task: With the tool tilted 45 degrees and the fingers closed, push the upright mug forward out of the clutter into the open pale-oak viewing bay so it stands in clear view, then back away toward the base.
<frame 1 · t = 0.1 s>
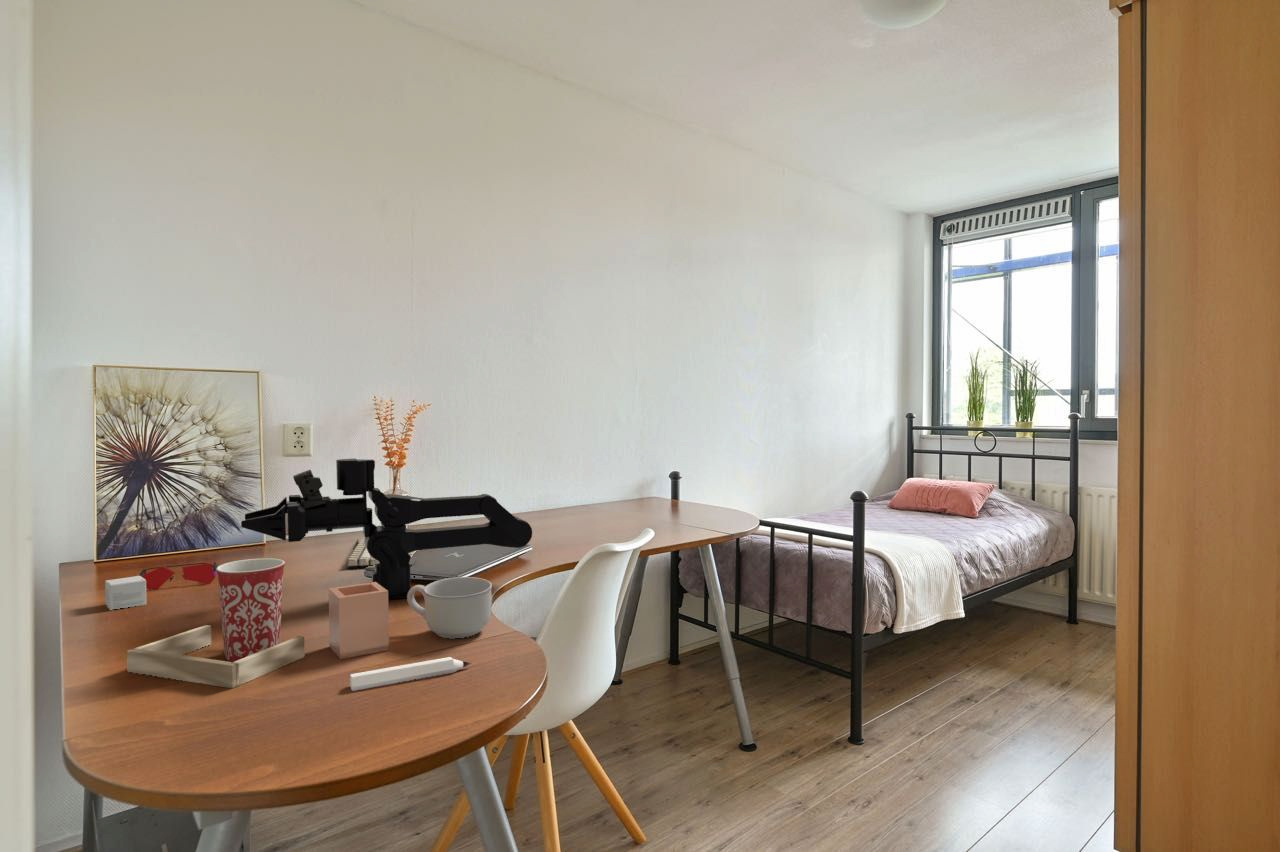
hand: (243, 520, 130), 17 cm above the table, tool horizontal, fingers open, 9 cm apart
teacup: (450, 633, 118), on the table
marker: (414, 681, 99), on the table
bay: (219, 663, 104), on the table
small box: (126, 606, 136), on the table
glasses: (179, 582, 155), on the table
mechanical keyboard: (390, 555, 184), on the table
terracotta pot: (359, 648, 111), on the table, touching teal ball
mug: (254, 651, 110), on the table
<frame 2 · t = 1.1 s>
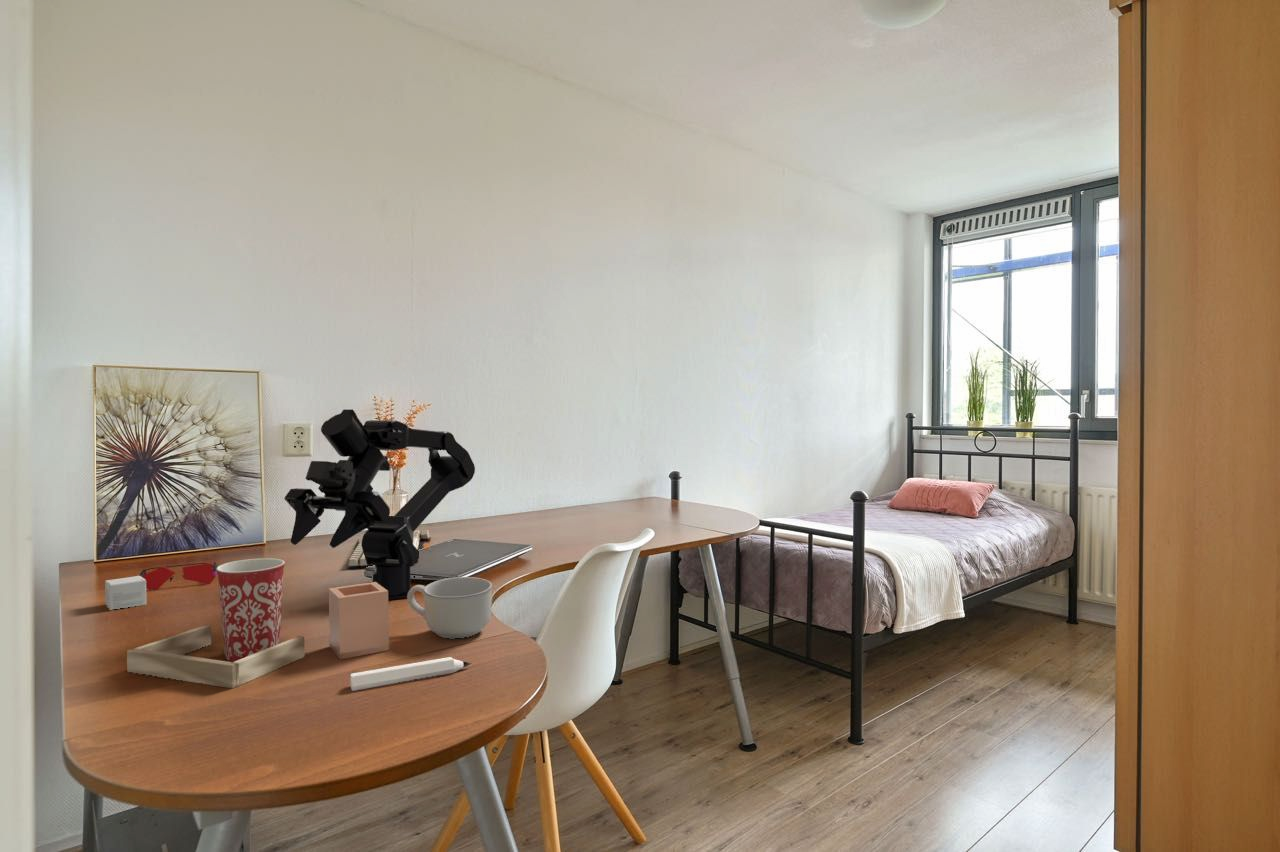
hand: (312, 544, 122), 14 cm above the table, tool tilted 45°, fingers open, 8 cm apart
nothing on the table moved.
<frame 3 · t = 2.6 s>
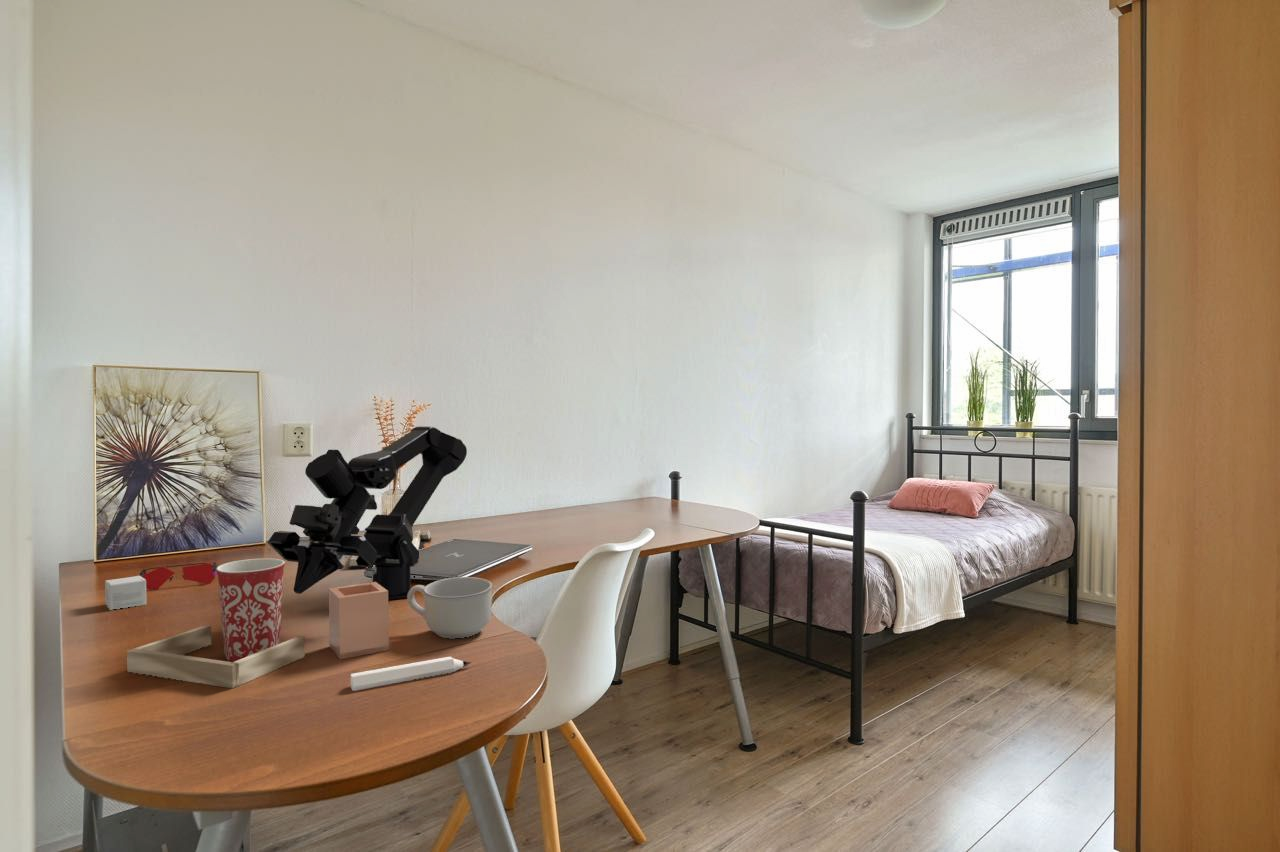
hand: (296, 592, 118), 7 cm above the table, tool tilted 45°, fingers closed
nothing on the table moved.
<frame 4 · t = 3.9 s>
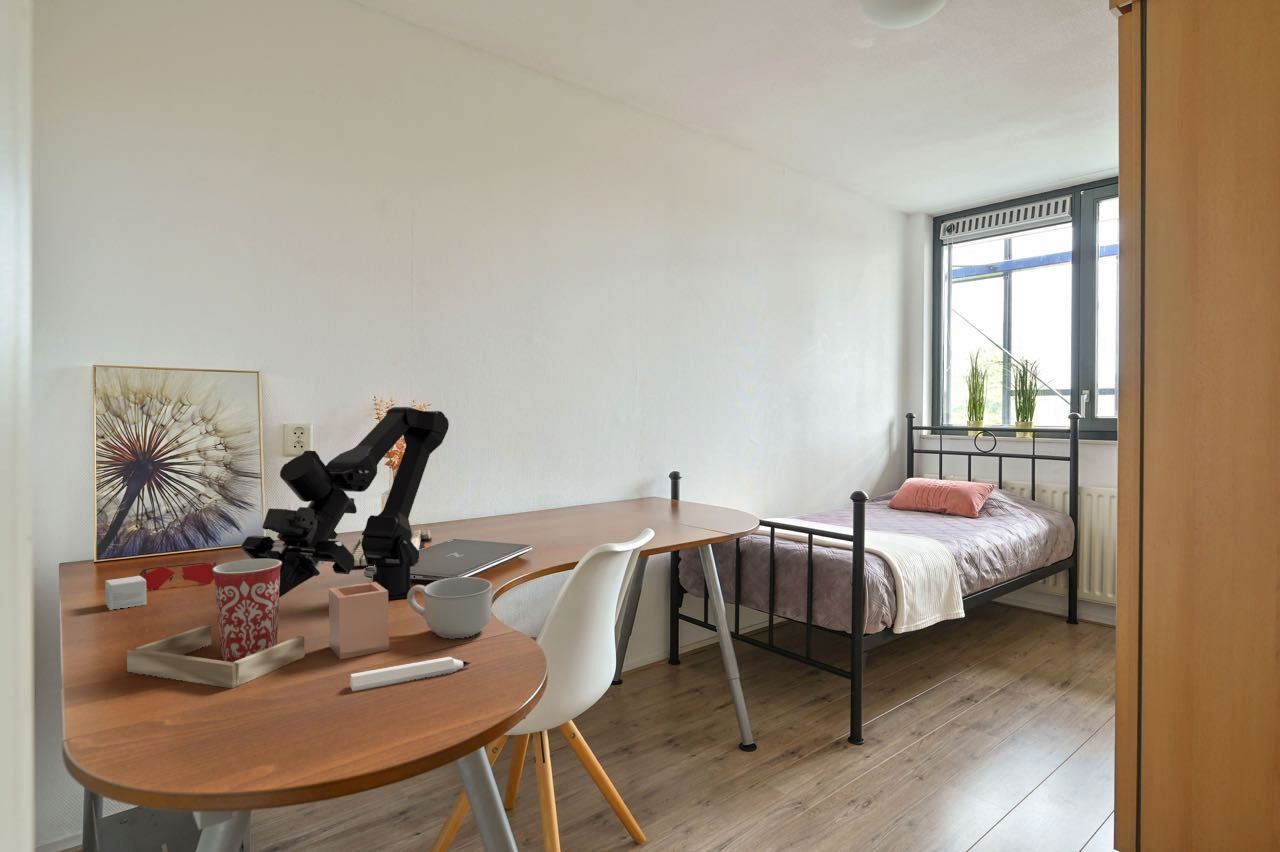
hand: (269, 599, 113), 7 cm above the table, tool tilted 45°, fingers closed
mug: (250, 652, 110), on the table, touching gripper
everything else where it was.
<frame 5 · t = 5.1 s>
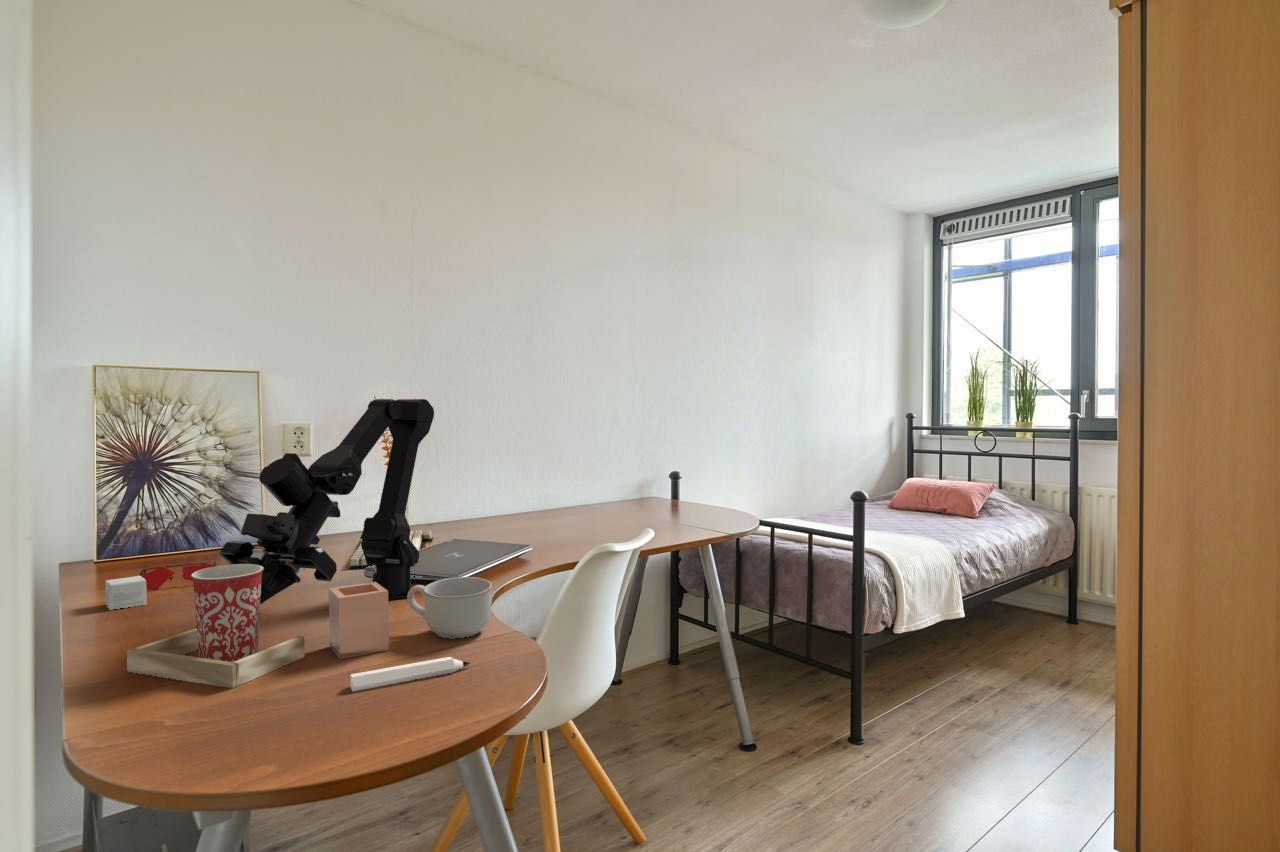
hand: (247, 608, 109), 7 cm above the table, tool tilted 45°, fingers closed
mug: (228, 661, 106), on the table, touching gripper
everything else where it was.
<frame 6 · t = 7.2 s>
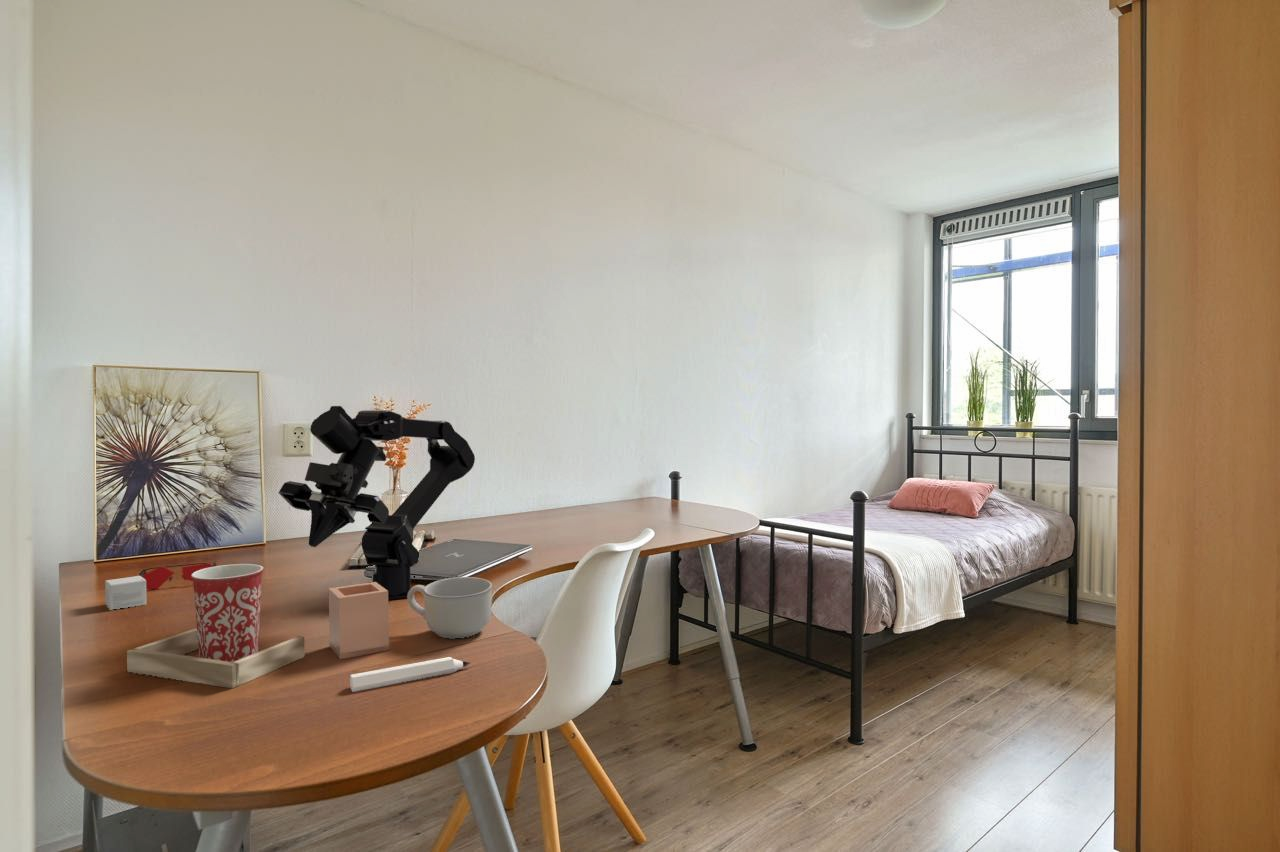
hand: (311, 545, 123), 13 cm above the table, tool tilted 40°, fingers closed
mug: (228, 661, 106), on the table
everything else where it was.
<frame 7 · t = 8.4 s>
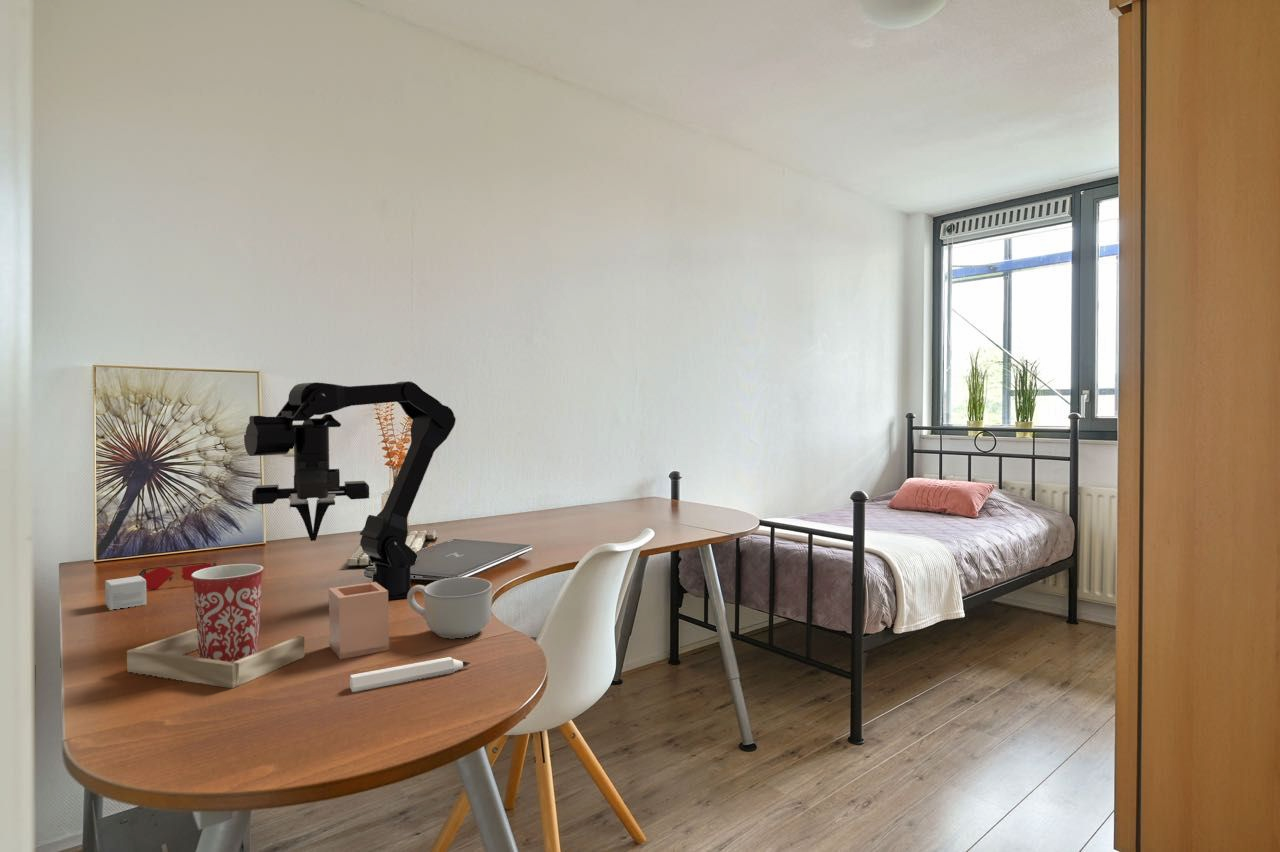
hand: (313, 540, 130), 13 cm above the table, tool pointing down, fingers closed
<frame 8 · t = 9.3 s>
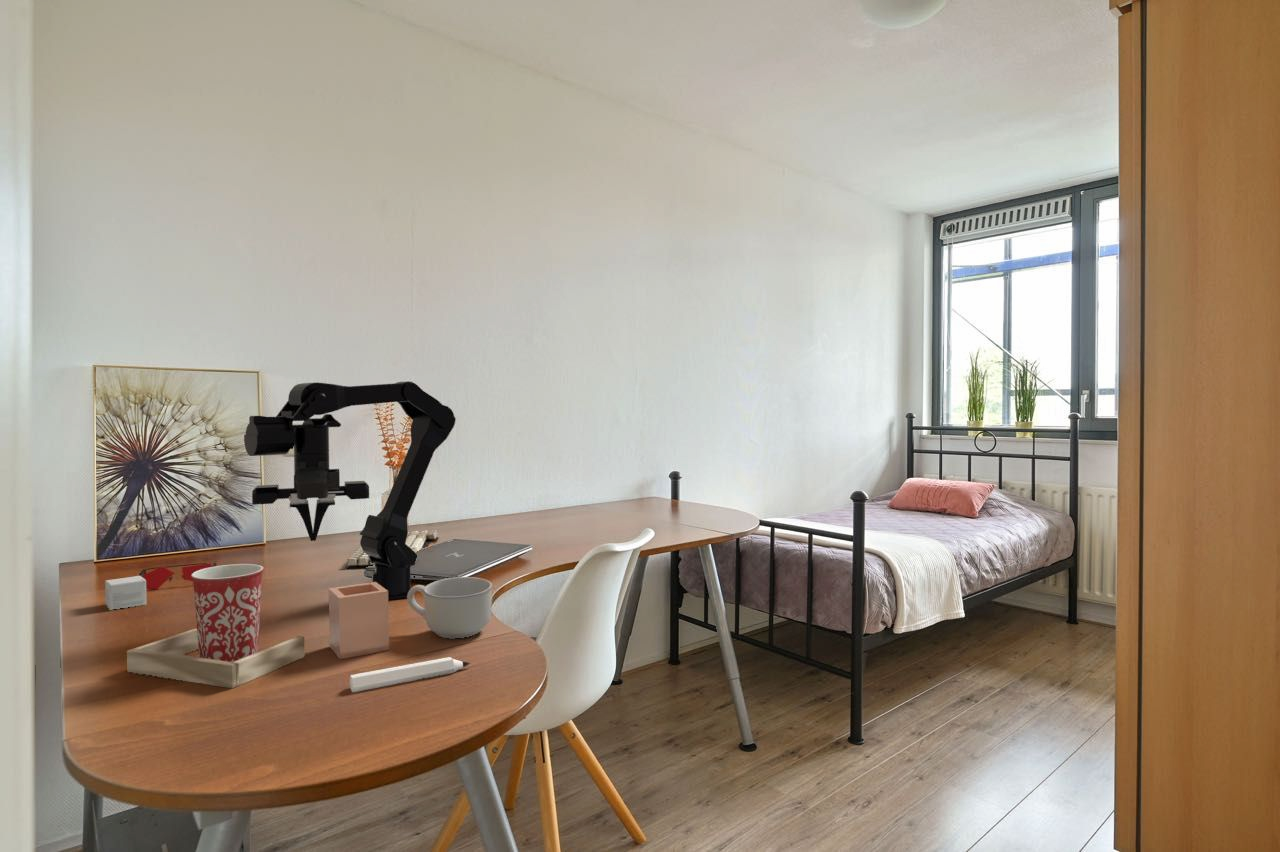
hand: (313, 540, 130), 13 cm above the table, tool pointing down, fingers closed
at the end: mug inside the target area on the bay (1.7 cm from its centre), point 0.0 cm above the bay's base; mug tilted 0°; mug moved 4.3 cm from its start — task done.
